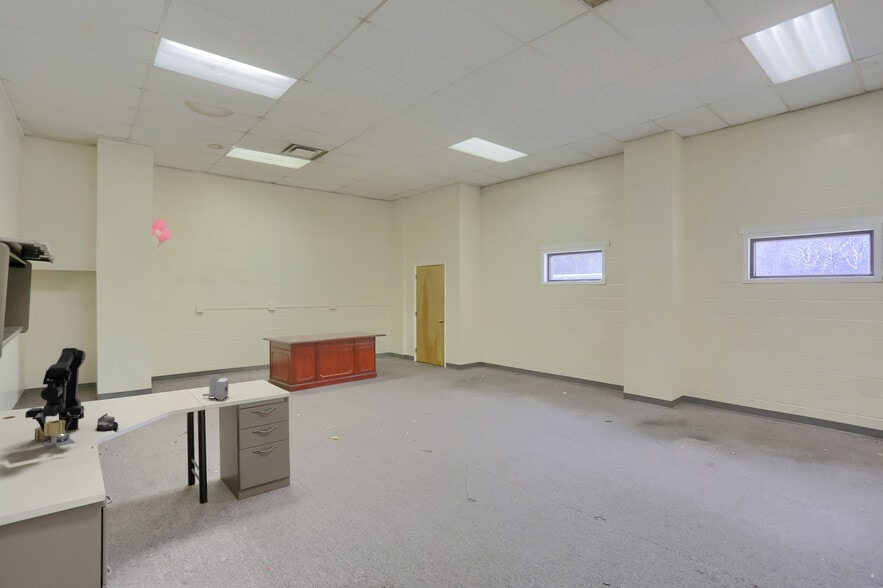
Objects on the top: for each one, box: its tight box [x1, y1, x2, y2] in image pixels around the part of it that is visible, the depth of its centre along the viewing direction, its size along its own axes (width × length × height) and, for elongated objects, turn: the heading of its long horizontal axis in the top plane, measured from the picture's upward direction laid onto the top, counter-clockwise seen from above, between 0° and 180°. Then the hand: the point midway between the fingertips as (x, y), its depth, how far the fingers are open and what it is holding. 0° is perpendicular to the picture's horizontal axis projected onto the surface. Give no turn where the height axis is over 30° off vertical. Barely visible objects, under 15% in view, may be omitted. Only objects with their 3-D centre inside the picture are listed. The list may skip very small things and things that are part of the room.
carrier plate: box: [37, 436, 77, 449], centre depth 196 cm, size 18×10×5 cm, turn 55°
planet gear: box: [44, 419, 66, 436], centre depth 191 cm, size 7×7×5 cm
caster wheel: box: [96, 413, 119, 432], centre depth 218 cm, size 7×11×10 cm
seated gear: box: [34, 426, 51, 442], centre depth 198 cm, size 7×7×5 cm
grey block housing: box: [202, 374, 230, 400], centre depth 294 cm, size 12×14×15 cm
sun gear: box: [50, 431, 71, 442], centre depth 198 cm, size 6×6×2 cm
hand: (54, 431), depth 191 cm, fingers closed on planet gear, 7 cm apart
